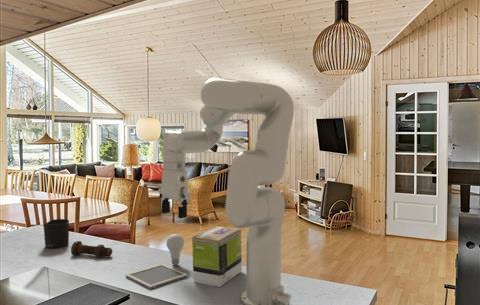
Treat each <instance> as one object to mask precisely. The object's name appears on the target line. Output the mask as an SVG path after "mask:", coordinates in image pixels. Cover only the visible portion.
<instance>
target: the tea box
mask: <svg viewBox="0 0 480 305" xmlns="http://www.w3.org/2000/svg"><path fill="white" fill-rule="evenodd" d="M241 229H242V228H236V227H235V228H233V227H227V226H226V227H225V226H217V225H216V226H214V227H212V228H209V229H207V230H206V231H203V232H200V233H198V234H196V235H194V236H192V238H191V239H192V277H193V278H192V280H193V282H194V283H198V284H201V283H202V284H203V285H208V286H210V287H211V286H213V287H218V288H220V287H222V286H223V285H224V284H226V283H227V282H228V281H230V280H231V279H233V278H234V277H235V276H237V275H238V274H240V273H241V272H243V262H242V230H241ZM202 284H201V285H202Z"/></svg>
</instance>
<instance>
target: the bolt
mask: <svg viewBox="0 0 480 305" xmlns="http://www.w3.org/2000/svg"><path fill="white" fill-rule="evenodd" d="M70 253H71V255H72V256H73V257H77V256H78V255H82V254H83V255H92V256H94V257H95V258H102V257H106V258H108V257H109V258H110V257H111V256H112V255H113V249H112V248H111V247H105V245H104V244H98V245H96V246H95V245H89V244H88V245H87V244H83V243H82V241H81V240H77V241H75V242H73V244H72V245H71V248H70Z"/></svg>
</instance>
